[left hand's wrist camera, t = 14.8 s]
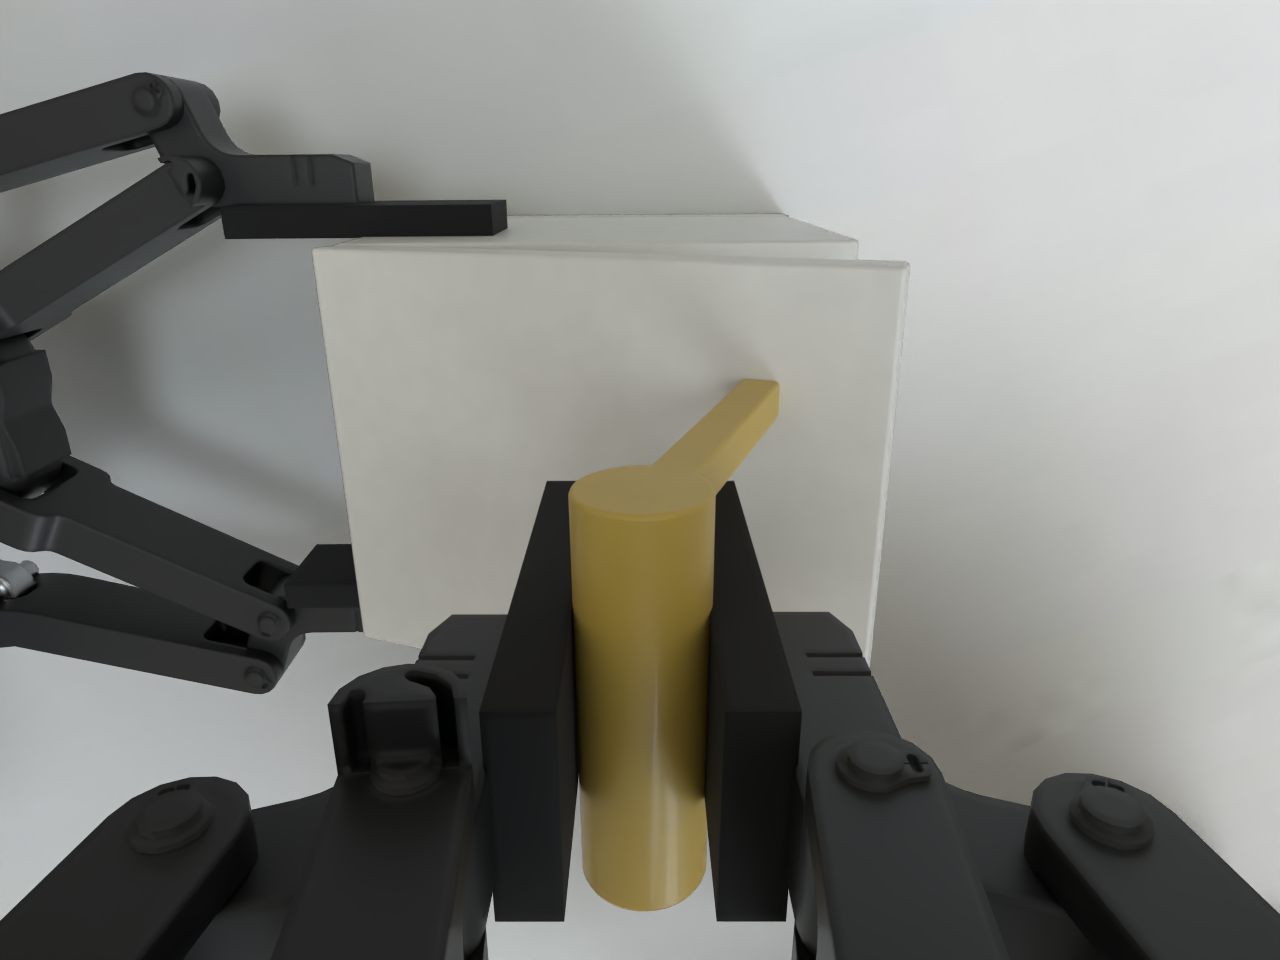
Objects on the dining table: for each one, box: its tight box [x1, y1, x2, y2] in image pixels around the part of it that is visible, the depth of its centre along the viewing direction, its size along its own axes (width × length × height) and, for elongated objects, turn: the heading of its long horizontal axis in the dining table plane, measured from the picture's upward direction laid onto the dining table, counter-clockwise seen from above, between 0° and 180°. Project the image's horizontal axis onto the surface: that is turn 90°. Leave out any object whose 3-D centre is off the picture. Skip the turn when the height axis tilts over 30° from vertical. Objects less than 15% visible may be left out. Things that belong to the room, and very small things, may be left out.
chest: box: [337, 214, 859, 260], centre depth 26 cm, size 12×10×10 cm
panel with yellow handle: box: [312, 245, 910, 911], centre depth 15 cm, size 12×9×8 cm
